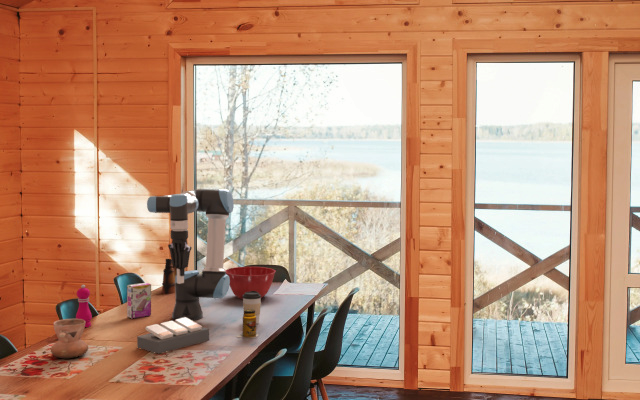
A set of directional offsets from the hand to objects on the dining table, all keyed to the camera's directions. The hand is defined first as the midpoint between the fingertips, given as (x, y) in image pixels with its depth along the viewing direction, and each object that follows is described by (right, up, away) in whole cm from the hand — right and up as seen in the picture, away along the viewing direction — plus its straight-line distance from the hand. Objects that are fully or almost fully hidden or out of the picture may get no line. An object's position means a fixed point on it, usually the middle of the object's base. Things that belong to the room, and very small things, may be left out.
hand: (180, 282), depth 319 cm
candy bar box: (-29, -22, +46) cm, 59 cm away
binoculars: (-26, -18, +111) cm, 116 cm away
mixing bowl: (+22, -19, +93) cm, 98 cm away
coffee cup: (+28, -23, +34) cm, 50 cm away
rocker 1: (-7, -20, -11) cm, 24 cm away
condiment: (+29, -25, +9) cm, 39 cm away
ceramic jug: (-41, -27, -22) cm, 54 cm away
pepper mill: (-51, -24, +26) cm, 62 cm away
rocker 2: (-2, -20, -5) cm, 20 cm away
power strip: (-1, -26, -3) cm, 26 cm away
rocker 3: (+3, -19, +1) cm, 20 cm away
